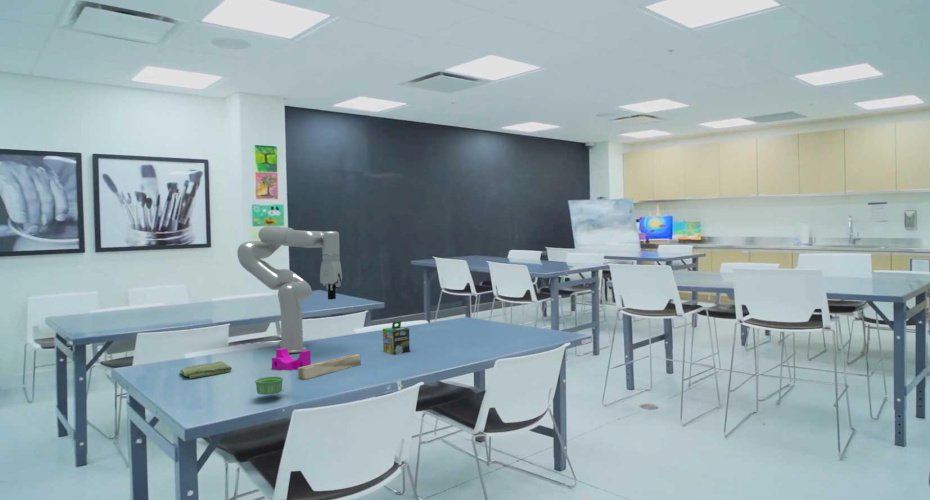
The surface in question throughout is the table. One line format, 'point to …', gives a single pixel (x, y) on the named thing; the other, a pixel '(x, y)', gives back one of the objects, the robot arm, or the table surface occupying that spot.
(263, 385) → the ramekin
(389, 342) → the chalk box
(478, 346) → the table surface
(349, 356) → the board
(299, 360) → the toy block
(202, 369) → the washcloth
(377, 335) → the table surface
